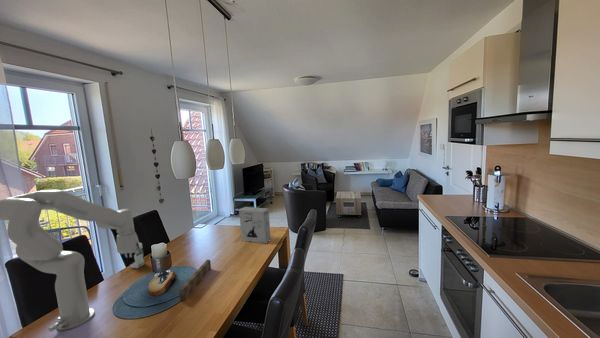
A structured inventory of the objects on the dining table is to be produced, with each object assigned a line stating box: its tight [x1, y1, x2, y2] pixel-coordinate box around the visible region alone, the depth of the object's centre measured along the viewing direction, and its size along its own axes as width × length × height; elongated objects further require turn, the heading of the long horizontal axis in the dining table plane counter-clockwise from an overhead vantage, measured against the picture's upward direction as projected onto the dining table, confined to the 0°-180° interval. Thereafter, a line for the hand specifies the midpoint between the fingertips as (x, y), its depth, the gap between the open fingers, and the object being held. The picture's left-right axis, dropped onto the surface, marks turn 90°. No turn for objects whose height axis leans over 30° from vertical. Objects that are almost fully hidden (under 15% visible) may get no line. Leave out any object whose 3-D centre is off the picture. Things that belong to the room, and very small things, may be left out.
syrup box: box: [129, 242, 146, 269], centre depth 158 cm, size 6×6×14 cm
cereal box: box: [238, 206, 271, 244], centre depth 188 cm, size 22×8×25 cm, turn 67°
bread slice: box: [147, 271, 176, 297], centre depth 136 cm, size 18×18×4 cm
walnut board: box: [178, 259, 212, 302], centre depth 134 cm, size 30×2×6 cm, turn 176°
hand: (131, 263), depth 137 cm, fingers closed
